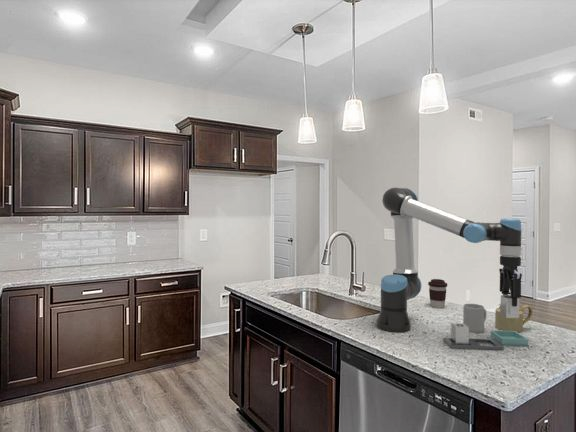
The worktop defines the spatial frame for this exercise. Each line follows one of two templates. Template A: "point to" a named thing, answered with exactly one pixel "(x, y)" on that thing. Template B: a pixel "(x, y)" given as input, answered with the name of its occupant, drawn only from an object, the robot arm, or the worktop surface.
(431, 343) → the worktop surface
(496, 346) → the grey slotted plate
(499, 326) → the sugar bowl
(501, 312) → the steel cube with knob
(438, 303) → the coffee cup
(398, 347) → the worktop surface
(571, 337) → the worktop surface
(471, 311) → the mug
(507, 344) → the parts tray
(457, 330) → the light gray block
